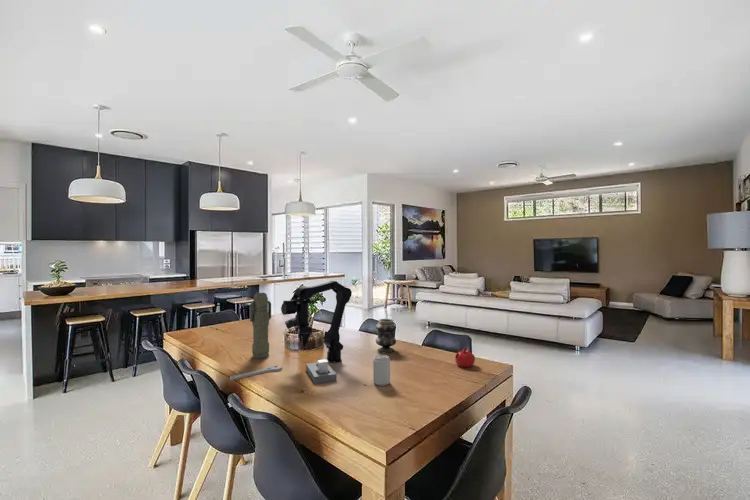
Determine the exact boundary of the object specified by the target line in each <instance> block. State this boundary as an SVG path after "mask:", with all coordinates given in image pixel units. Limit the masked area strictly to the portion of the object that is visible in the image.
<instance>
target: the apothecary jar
mask: <svg viewBox="0 0 750 500" xmlns="http://www.w3.org/2000/svg"><path fill="white" fill-rule="evenodd" d="M375 328H376V330H377V337H376V338H375V343H376V344H377V345H378V346H380V347H379V348H378V349H377V352H378V351H380V352H379V353H382V352H390V353H393V352H392V351H394V352H395V349H394V348H392V346H394V345H396V343H397V339H396V338H395V330H396V329H397V325H396V324H395V322H394V320H393V319H390V318H380V319H378V322H377V324H376V326H375Z"/></svg>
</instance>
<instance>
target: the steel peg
mask: <svg viewBox="0 0 750 500" xmlns="http://www.w3.org/2000/svg"><path fill="white" fill-rule="evenodd" d="M317 363H318V375H319V374H327V373H328V365H329V361H328V360H327V358H326V359H319V360H317Z"/></svg>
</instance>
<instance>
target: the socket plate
mask: <svg viewBox="0 0 750 500" xmlns="http://www.w3.org/2000/svg"><path fill="white" fill-rule="evenodd" d="M305 371H306V372H307V374H308V375H309V377H310V379H311V380H312V382H313V383H314V385H316V384H324V383H331V382H337V377H338V376H337V373H336V371H335V370H333V368H332V367H331V366H330V364H328V373H327V374H319V375H318V362H311V363H305Z"/></svg>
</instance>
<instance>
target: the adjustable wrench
mask: <svg viewBox="0 0 750 500" xmlns="http://www.w3.org/2000/svg"><path fill="white" fill-rule="evenodd" d="M282 370H283V365H281V366H278V365H277V364H275V365H274V364H273V365H269V366H267V367H265V368H262V369H258V370H253V371H249V372H245V373H238V374H235V375H231V376H230V377H229V380H230V381H234V380H235V381H236V380H239V379H242V378H248V377H252V376H257V375H261V374H265V373H272V372H280V371H282Z"/></svg>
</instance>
